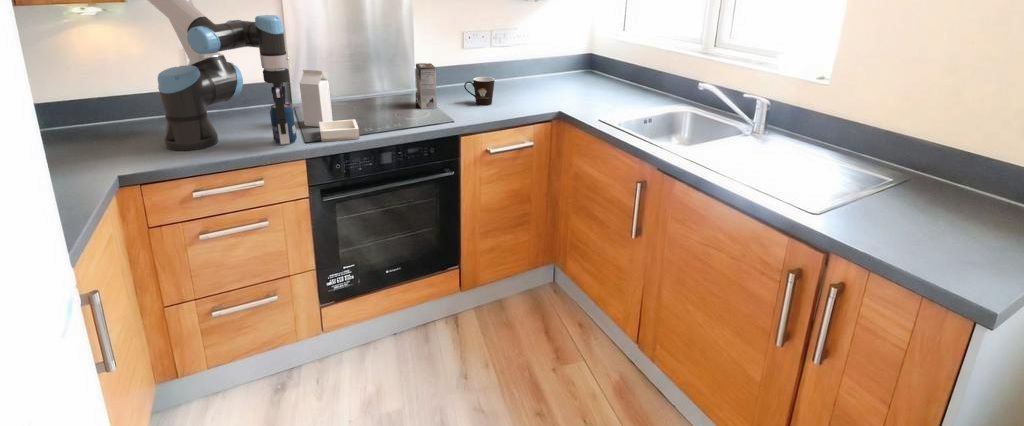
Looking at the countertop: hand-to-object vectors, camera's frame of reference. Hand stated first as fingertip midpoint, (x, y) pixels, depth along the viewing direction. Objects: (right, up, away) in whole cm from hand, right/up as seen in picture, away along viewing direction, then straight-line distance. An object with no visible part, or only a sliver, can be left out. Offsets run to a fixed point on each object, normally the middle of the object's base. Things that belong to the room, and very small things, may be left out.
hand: (285, 138), depth 194 cm
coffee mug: (+60, +21, +52) cm, 82 cm away
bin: (+15, +2, +8) cm, 17 cm away
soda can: (0, -1, 0) cm, 1 cm away
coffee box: (+39, +19, +46) cm, 64 cm away
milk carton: (+4, +8, +20) cm, 22 cm away
